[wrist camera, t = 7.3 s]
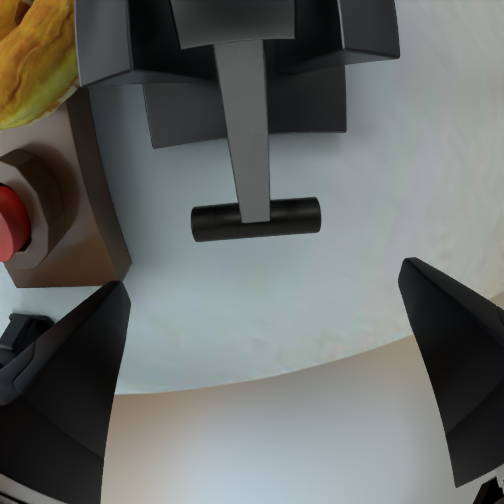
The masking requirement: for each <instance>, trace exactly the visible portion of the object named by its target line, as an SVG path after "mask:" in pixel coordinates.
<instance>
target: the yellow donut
mask: <svg viewBox="0 0 504 504" xmlns="http://www.w3.org/2000/svg"><path fill="white" fill-rule="evenodd" d="M79 87H80V83H79V75H78V66H77V55H76V43H75V23H74V0H0V130H7V129H9V128H10V129H11V128H16V127H22V126H31V125H33V124H35V123H37V122H39V121H41V120H42V119H44V118H46V117H48V116H49V115H50V114H52V113H53V112H55V111H56V109H57V108H58V107H59V106H60V105H61V104H62V103H63V102H64V101H65V100H66V99H68V98H69V97H70V96H71V95H72V94H73V93H74V92H75V91H76V90H77V89H78V88H79Z"/></svg>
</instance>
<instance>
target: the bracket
mask: <svg viewBox="0 0 504 504" xmlns="http://www.w3.org/2000/svg"><path fill="white" fill-rule="evenodd" d="M296 4H297V33H296V38H295V39H268V40H264V43H265V62H266V84H267V108H268V135H271V134H291V133H345V132H346V131H347V116H346V80H345V65H349V64H356V63H364V62H372V61H382V60H393V59H399V58H400V46H399V35H398V25H397V16H396V9H395V2H394V0H296ZM74 23H75V43H76V55H77V66H78V75H79V83H80V87H81V88H91V87H100V86H111V85H124V84H143V91H144V98H145V105H146V111H147V118H148V124H149V130H150V136H151V141H152V147H153V148H154V149H156V148H162V147H167V146H173V145H180V144H186V143H193V142H200V141H208V140H216V139H225V138H227V134H226V128H225V121H224V115H223V109H222V103H221V97H220V91H219V85H218V79H217V73H216V67H215V60H214V54H213V48H212V45H205V46H199V47H193V48H187V49H180V48H179V46H178V42H177V37H176V33H175V28H174V24H173V19H172V14H171V10H170V5H169V1H168V0H74Z"/></svg>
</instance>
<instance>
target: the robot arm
mask: <svg viewBox="0 0 504 504" xmlns="http://www.w3.org/2000/svg"><path fill="white" fill-rule="evenodd" d="M398 285H399V289H400V292H401V295H402V298H403V301H404V305H405V308H406V312H407V315H408V319H409V322H410V325H411V328H412V330H413V333H414V335H415V338H416V341H417V343H418V346H419V348H420V351H421V354H422V357H423V360H424V363H425V366H426V369H427V372H428V375H429V378H430V381H431V384H432V387H433V391H434V394H435V398H436V401H437V404H438V408H439V412H440V415H441V419H442V423H443V427H444V431H445V436H446V440H447V445H448V450H449V454H450V460H451V465H452V470H453V475H454V482H455V487H456V488H458V487H460V486H462V485H464V484H466V483H469V482H471V481H473V480H475V479H477V478H479V477H481V476H482V475H485V474H487V473H488V472H490V471H492V470H495V473H496V476H494V477H493V478H491V479H490V480H488V481H487V482H485V483H483V484H482V485H481V488H480V490H479V492H478V494H477V496H476V498H475V501H474V502H473V504H504V310H503V309H501V308H500V307H498V306H496V305H495V304H494V303H492V302H490V301H489V300H487V299H486V298H484V297H483V296H481V295H479V294H478V293H476V292H475V291H473V290H471V289H470V288H468V287H466V286H465V285H463V284H461V283H460V282H458V281H456V280H455V279H453V278H451V277H450V276H448V275H446V274H444V273H443V272H441V271H439V270H438V269H436V268H434V267H432V266H430V265H429V264H427V263H425V262H423V261H421V260H420V259H418V258H416V257H412V258H405V259H404V260H403V263H402V266H401V270H400V274H399V278H398ZM130 308H131V301H130V298H129V296H128V294H127V291H126V289H125V287H124V284H123V283H122V281H120V280H117V281H109V282H108V283H106V284H105V285H104V286H102V287H101V288H100V289H98V290H97V291H96V292H95V293H93V294H92V295H91V296H89V297H88V298H87V299H86V300H84V301H83V302H82V303H81V304H79V305H78V306H77V307H76V308H74V309H73V310H72V311H71V312H69V313H68V314H67V315H66V316H64V317H63V318H62V319H61V320H60V321H58V322H57V323H56V324H55V325H54V324H53V323H52V321H51V320H50V319H49V318H48V317H46V316H35V315H22V314H10V316H9V319H10V321H11V322H10V323H9V325H8V327H7V328H6V330H5V331H4V333H3V335H2V336H1V338H0V504H100V501H101V487H102V475H103V466H104V456H105V448H106V441H107V434H108V427H109V421H110V414H111V409H112V403H113V398H114V393H115V388H116V383H117V378H118V374H119V369H120V365H121V360H122V356H123V352H124V347H125V342H126V335H127V328H128V321H129V315H130Z"/></svg>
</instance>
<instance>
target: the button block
mask: <svg viewBox="0 0 504 504" xmlns="http://www.w3.org/2000/svg"><path fill="white" fill-rule="evenodd" d="M0 186H8V187H10V188H12V189H13V190H14V191H15V192H16V193H17V195H18V196H19V197H20V199H21V200H22V201H23V202H24V204H25V207H26V210H27V213H28V215H29V218H30V221H31V233H30V237H29V239H28V240H27V242H26V243H25V244H24V245H23V246H22V247H21V248H20V249H19V250H18V251H17V252H16V253H15V254H14V256H13V257H12V258H11V259H10V260H8V261H6V262H3V263H4V265H5V267H6V269H7V271H8V273H9V275H10V277H11V278H12V280H13V282H14V284H15V286H16V287H17V288H45V287H80V286H104V285H105V284H106V283H108V282H109V281H117V280H120V281H122V282H123V280H124V278H125V276H126V274H127V272H128V270H129V268H130V266H131V264H132V262H131V259H130V257H129V254H128V251H127V248H126V245H125V242H124V239H123V236H122V233H121V230H120V227H119V224H118V220H117V217H116V214H115V211H114V207H113V204H112V200H111V197H110V193H109V189H108V186H107V182H106V178H105V174H104V170H103V166H102V162H101V158H100V153H99V149H98V144H97V140H96V135H95V130H94V125H93V119H92V114H91V108H90V102H89V95H88V88H81V87H79V88H78V89H77V90H76V91H75V92H74V93H73V94H72V95H71V96H70V97H69V98H68V99H66V100H65V101H64V102H63V103H62V104H61V105H60V106H59V107H58V108H57V109H56V111H55V112H53V113H52V114H50V115H49V116H48V117H46V118H44V119H42V120H41V121H39V122H37V123H35V124H33V125H31V126H22V127H16V128H11V129H10V128H9V129H7V130H0Z"/></svg>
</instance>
